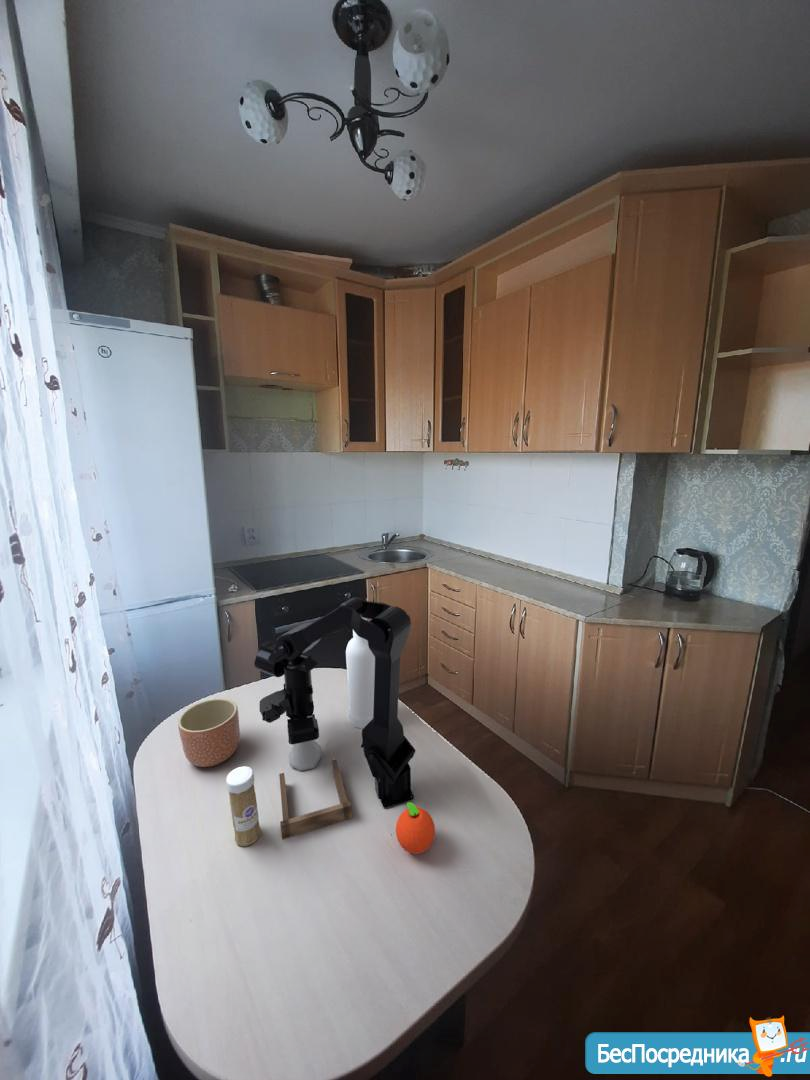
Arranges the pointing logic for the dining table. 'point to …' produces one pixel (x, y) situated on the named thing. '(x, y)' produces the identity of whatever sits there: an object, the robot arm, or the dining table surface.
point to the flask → (305, 755)
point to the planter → (210, 731)
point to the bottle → (360, 680)
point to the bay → (318, 817)
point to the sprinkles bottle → (243, 805)
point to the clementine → (415, 829)
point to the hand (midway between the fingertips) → (302, 740)
